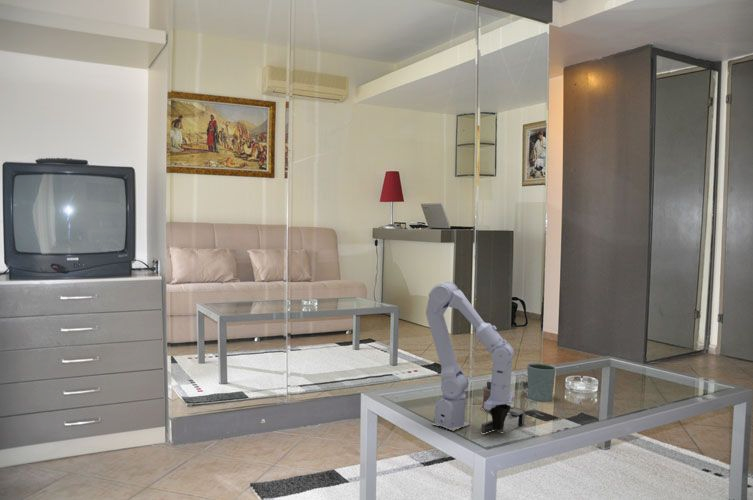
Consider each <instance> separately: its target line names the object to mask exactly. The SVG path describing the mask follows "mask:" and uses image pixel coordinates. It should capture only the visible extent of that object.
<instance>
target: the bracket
mask: <svg viewBox="0 0 753 500" xmlns="http://www.w3.org/2000/svg"><path fill="white" fill-rule="evenodd" d="M525 411H526V409H523V408H519V407H516V406H512V407H511V409H510V411H509V412H508V414H507V416H509V415H511V414H513V415H516V416H519V422H518V426H525V419H526V414H525ZM492 430H495V431H496V429H494V426H493V420H489V421H487V422H484V423H481V429H480V433H481V432H482V433H486V432H489V431H492ZM492 432H493V431H492Z"/></svg>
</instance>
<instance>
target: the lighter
mask: <svg viewBox="0 0 753 500" xmlns="http://www.w3.org/2000/svg"><path fill="white" fill-rule="evenodd" d="M490 394H491V380H487V381H486V386H483V398H482V406H481V409H482V408H483V409H484V402H486V401H487V400H488V399H489V397H490ZM483 409H482V410H483ZM484 410H485V411H484ZM484 410H483V411H484V412H486V413H488V414H490V415H491V413H490V411H489V410H487V409H484Z"/></svg>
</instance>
